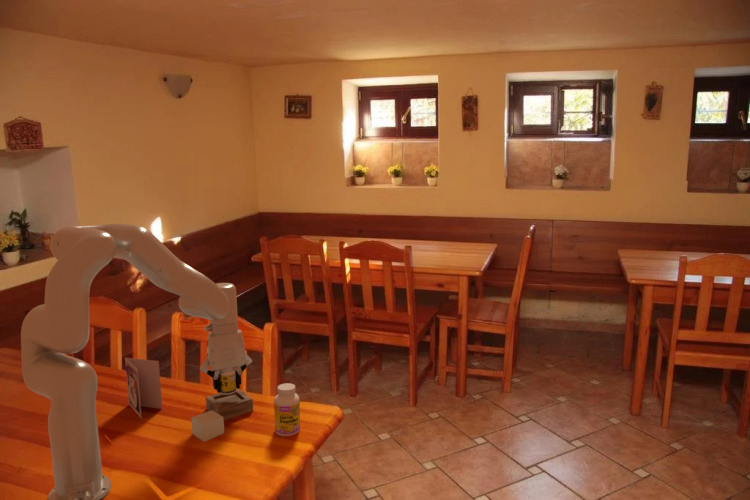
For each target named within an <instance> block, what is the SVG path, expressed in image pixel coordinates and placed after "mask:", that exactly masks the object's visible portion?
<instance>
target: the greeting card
mask: <svg viewBox="0 0 750 500" xmlns="http://www.w3.org/2000/svg"><path fill="white" fill-rule="evenodd" d="M124 362H125V364H123V366H124V368H125V372H126V373H125V374H126V384H127V385H126V387H127V393H128V394H127V397H128V405H129V406H130V408H131V409H132V410H133V411H134V412H135V413H136V414H137V415H138V417H139V419H143V417H142V407H144V408H150V409H151V408H152V409H159V410H160V409H161V410H163V402H162V387H161V374H160V361H159V360H153V359H152V360H150V359H141V358H135V357H134V358H133V357H132V358H131V357H124Z"/></svg>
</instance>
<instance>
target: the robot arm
mask: <svg viewBox="0 0 750 500" xmlns="http://www.w3.org/2000/svg"><path fill="white" fill-rule="evenodd" d="M49 249H50V252H51V254H52V255H53V257H54V258H55V259H56V260H57V261H56V262H55V264H54V265H53V266H52V267H51V269H50V271H49V273H48V275H47V277H46V281H45V286H44V287H45V289H44V303H43V304H39V305H37V306H35V307H33V308H32V309H31V310H30V311H29V312H28V313H27V314H26V315H25V317H24V319H23V321H22V325H21V328H20V329H21V330H20V347H21V348H20V351H21V353H20V354H21V374H22V379H23V382H24V385H25V386H26V387H27V388H28V389H29V390H30V391H32V392H34V393H36V394H38V395H40V396H42V397H45V398H47V399H49V401H50V409H49V413H48V418H47V427H48V429H47V430H48V436H49V444H50V452H51V462H52V470H53V479H54V487H53V488H52V489H50V491H49V493H48V495H47V496H48V497H47V499H48V500H102V499H103V498H104V497H105V496H107V494H108V493H109V492H110V490H111V488H112V484H111V483H112V482H111V479H110V478H109V477H108V476H106V475H105V474H103V469H102V466H103V465H102V457H101V448H100V447H101V446H100V438H99V437H100V435H99V426H98V419H97V418H98V417H97V394H98V393H97V392H98V383H99V382H98V375H97V373H96V371H95V369H94V368H93V367H92V366H91V365H90V364H89V363H87V362H86V361H84V360H82V359H79V358H76V357H74V356H70V354H77V353H79V352H80V351H82V350H83V349H84V348H85V347H86V346H87V345H88V342H89V340H90V333H91V328H90V327H91V326H90V318H91V317H90V295H91V294H90V292H91V291H90V290H91V285H92V283H93V281H94V279H95V277H96V276H97V275H98V273H99V272H100V271H102V269H103V268H105V267H106V266H107V265H108V264H110V262H111V261H112V260H113V259H118V260H125V261H126V262H128V264H130V265H131V266H132V267H133V268H135V269H136V270H137V271H138V272H140V273H141V274H142V275H143V276H144V277H146V279H148V280H149V282H151V283H152V284H154V286H157V287H158V288H160V289H162V290H164V291H166V292H168V293H172V294H175V295H178V296H179V297H178V307H179V309H180V311H181V312H183V313H184V314H185V315H188V316H189V317H195V318H201V319H205V320H209V324H208V325H205V326H204V331H205V332H207V331H208V335H207V342H206V358H205V360H204V361H203V363H202V364H201V365H200V366H199V370H200V372H202V373H205V374H206V375H208V376H209V377H210V378H212V380H213V382H212V383H213V390H216V393H217V394H218V393H220V392H221V388H220V379H219V377H218V375H219V371H220V370H224V369H229V368H234V369H235V371H236V389H240V390H241V385H242V375H243V372H244V371H245V370H246V369H247V368H248V366H249V365H250V364H252V362H253V359H252V358H251V357H250V356H249V355H248V354H247V353H246V349H245V341H244V336H243V332H242V330H241V329H239V317H238V303H237V302H238V301H237V298H238V296H237V288H236V286H235V285H234V284H233V283H230V282H218V283H217V282H216V283H215V282H214V280H212V279H210V277H207V276H206V275H205V274H203V273H201V272H199V270H196V269H195V268H193V267H192V266H190V265H188V264H187V263H185V262H184V261H182V260H181V259H180V258H178V257H177V256H176V255H175V254H174V253H173V252H172V251H171V250H170V249H169V247H167V246H166V245H165V244H163V242H162V241H160V240H159V238H158V237H156V236H155V235H154V234H153V233H152V232H151V231H150V230H149V229H147V228H145V227H144V226H141V225H135V224H127V223H107V224H104V223H103V224H94V225H93V224H92V225H91V224H90V225H70V226H65V227H62V228H60V229H58V230H57V231H55V232H54V234H53V235H52V236H51V239H50V242H49ZM67 354H69V355H67ZM208 367H209V368H208Z"/></svg>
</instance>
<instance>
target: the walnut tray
mask: <svg viewBox="0 0 750 500" xmlns="http://www.w3.org/2000/svg"><path fill="white" fill-rule="evenodd" d="M205 406H206V407H205V409H206V410H207V412H208V411H211V410H213V411H214V412H216V413H218V414H219V415H221V416H222V417H223V418H224V422H225V421H227V420H228V421H229V420H231V419H233V418H236V417H240V416H243V415H246V414H250V413H252V412H254V400H253V398H252V397H251V396H249V395H248V394H247V393H245V392H244V391H243V390H242V389H241V388H240V389H237V388H236V392H235V393H233V394H230V395H223V394H220V393H218V392H217V393H215V394H211V395H207V396H205Z"/></svg>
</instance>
